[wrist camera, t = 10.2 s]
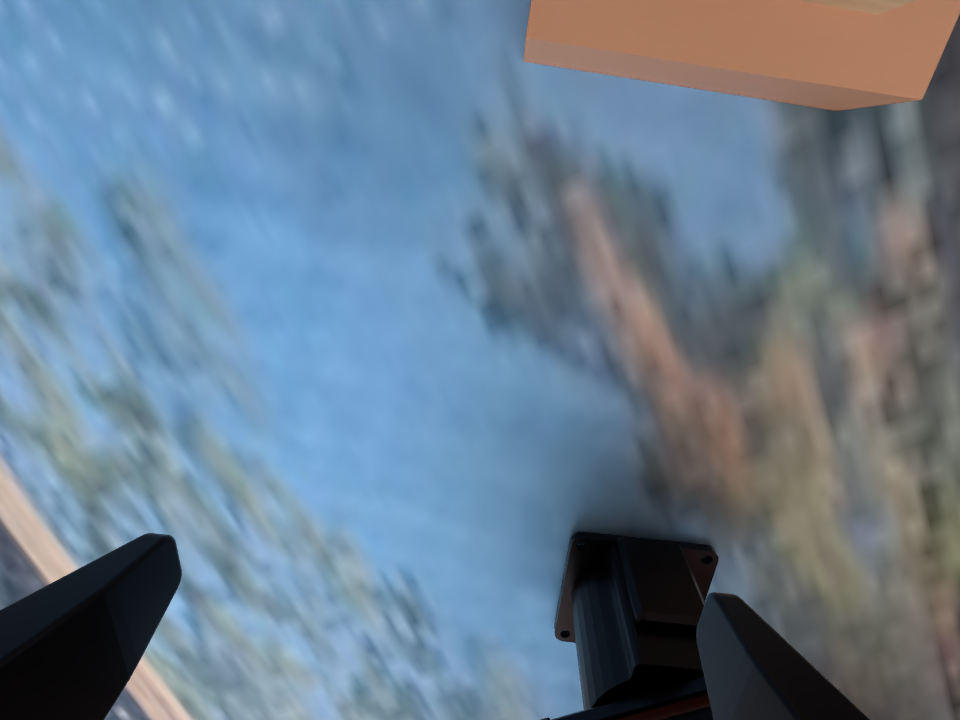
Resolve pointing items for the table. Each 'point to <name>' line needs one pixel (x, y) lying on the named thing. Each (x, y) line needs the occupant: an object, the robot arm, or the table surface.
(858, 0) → the maple cube
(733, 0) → the terracotta base block
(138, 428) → the table surface
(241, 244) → the table surface
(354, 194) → the table surface
